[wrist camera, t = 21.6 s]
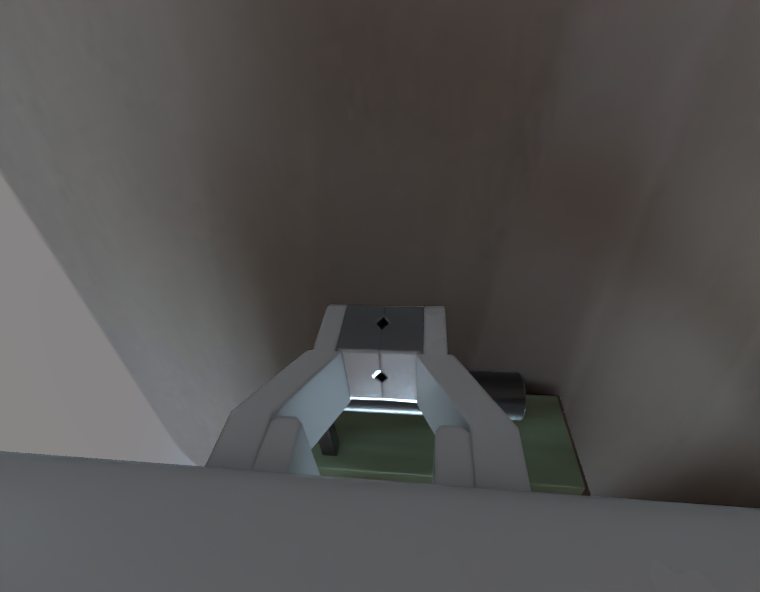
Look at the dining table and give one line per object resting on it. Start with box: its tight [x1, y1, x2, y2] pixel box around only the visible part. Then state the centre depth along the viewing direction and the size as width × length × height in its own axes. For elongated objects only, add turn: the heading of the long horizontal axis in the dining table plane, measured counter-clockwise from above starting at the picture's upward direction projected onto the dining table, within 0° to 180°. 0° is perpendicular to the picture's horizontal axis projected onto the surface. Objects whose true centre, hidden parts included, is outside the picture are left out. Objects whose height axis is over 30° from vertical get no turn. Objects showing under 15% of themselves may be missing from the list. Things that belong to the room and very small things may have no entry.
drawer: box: [311, 371, 585, 495], centre depth 18 cm, size 19×12×4 cm, turn 4°
